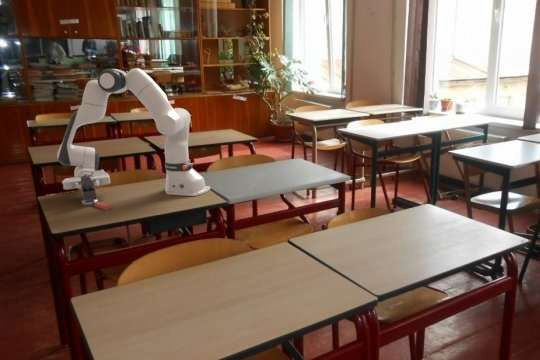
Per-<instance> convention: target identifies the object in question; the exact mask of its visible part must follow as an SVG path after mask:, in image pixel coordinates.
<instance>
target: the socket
mask: <svg viewBox="0 0 540 360" xmlns="http://www.w3.org/2000/svg"><path fill="white" fill-rule="evenodd" d="M81 184H82V188H81V193H82V198H83V199H82V200H84V201H85V200H92V199H96V198H97V194H96V189H95V188H96V187H94V180H93V176H92V175H86V176H82V177H81Z"/></svg>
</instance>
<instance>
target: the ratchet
mask: <svg viewBox="0 0 540 360" xmlns="http://www.w3.org/2000/svg"><path fill="white" fill-rule="evenodd" d="M81 204H82V206H83V207H90V206H92V207H95V208H99V209H101V210H104V211H107V210H108V211H109V210H111V209H112V208H113V207H112V204H109V203H106V202H102V201H99V198H98V197H96V199H92V200H85V201H84V199H82V200H81Z"/></svg>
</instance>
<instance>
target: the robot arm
mask: <svg viewBox="0 0 540 360" xmlns="http://www.w3.org/2000/svg"><path fill="white" fill-rule="evenodd" d="M128 91H130V92H131V93H132V94H133V95H134V96H135V97H136V98H137V99H138V100H139V102H141V104H142V105H143V106H144V108H146V110H147V111H148V112H149V114H150V116H151V117H152V119H153V120H154V122H155V126H156V129H157V131H158V132H159V133H160V134H161V135H164V136H166V138H165V143H164V158H165V161H164V168H165V172H166V176H165V177H166V178H165V188H164V191H165V194H166V195H169V196H171V195H172V196H186V197H187V196H188V197H197V196H200V195H203V194H206V193H207V192H210V190H211V186H209V185H206V181H205V178H204V177H203V176H202V175H201V174H200V173H198V171H197V170H195V169H194V168H193V166H194V165H195V163H194V162H192V163H191V161H190V159H189V136H190V123H191V121H192V119H191V114H190V112H189V111H188V110H187V109H185V108H181V107H175V108H173V106H172V104H171V103H170V101H169V100H168V96H167V94H166V93H165V91H164V90H163V89H162V88H161V87H160V86H159V85H158V84H157V83H156V81H154V79H153V78H152V77H151V76H150V75H149V74H148V73H146V72H145V71H144V70H143V69H141V68H138V67H135V68H132V69H130V70H129V71H125V70H122V69H118V68H106V69H103V70H102V71H101V72H100V73H99V74H98V76H97V79H91V80H89V81H88V82H87V83H86V85H85V87H84V91H83V94H82V98H81V99H82V100H81V105H80V106H79V109H78V110H75V111H74V112H72V114H71V117H70V119H69V121H68V124H67V127H66V130H65V132H64V135H63V139H62V142H61V144H60V146H59V148H58V150H57V152H56V153H57V154H56V158H57V161H58V162H59V163H60V164H61V165H62V166H75V168H74V170H73V171H74V174H73V175H74V176H73V177H68V178H67V177H66V178H64V179H63V180H62V181H61V184H62V185H63V186H62V188H63V190H73V189H79V190H80V189H81V190H82V184H81V177H82V176H86V175H92V176H93V180H94V188H97V187H99V186H102V185H103V186H104V185H110V184H111V177H110V175H109V174H108V173H107V172H105V170H104V169H99V165H100V153H99V152H98V149H96V148H95V147H89V146H83V145H82V146H81V145H74V144H73V140H74V137H75V134H76V132H77V129H79V128H80V127H81V126H84V125H88V124H95V123H97V122H99V121H101V120H103V119H104V117H105V116H106V112H107V107H108V100H109V96H110V95H111V94H123V93H126V92H128Z"/></svg>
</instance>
